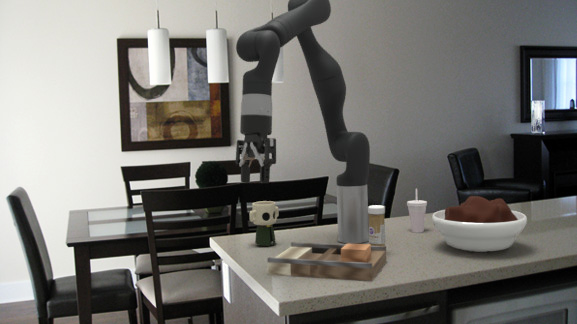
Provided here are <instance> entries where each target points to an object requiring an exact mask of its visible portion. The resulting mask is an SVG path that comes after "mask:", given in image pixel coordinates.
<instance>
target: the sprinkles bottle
mask: <svg viewBox="0 0 577 324" xmlns="http://www.w3.org/2000/svg"><path fill="white" fill-rule="evenodd" d="M368 213H369V214H368V215H369V241H368V244H371V246H386V224H385V213H386V206H385V205H380V204H378V205H376V204H375V205H374V204H372V205H369V206H368Z"/></svg>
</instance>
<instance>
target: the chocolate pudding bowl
mask: <svg viewBox="0 0 577 324" xmlns="http://www.w3.org/2000/svg"><path fill="white" fill-rule="evenodd" d="M431 221H432V223H433V225H434V227H435V228H436V230H438V232H439V233H441V235H442V237H443V240H444V242H445V243H446V244H447V245H448V246H450V247H452V248H454V249H458V250H462V251H467V250H468V252H472V251H475V252H474V253H488V252H487V251H490V252H498V251H504V250H506V249H509V248H511V247H513V244H514V243H515V241H516V238H517V237H518V235H519V234H520V233H521V232H522V231H523V230H524V229H525V227H526V225H527V223H528V216H526V214H524V213H522V212H519V211H516V210H511V208H510V206H509V205H508V204H507V203H506V201H504V199H503V198H495V199H492V200H489V199H487V198H485V197H483V196H478V195H477V196H476V195H471V196H468V198H466V200H465V202H462V203H460V204H459V205H457V206H448V207H446V208H445V209H441V210H438V211H436V212H433V214H432V216H431Z"/></svg>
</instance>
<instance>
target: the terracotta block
mask: <svg viewBox="0 0 577 324" xmlns="http://www.w3.org/2000/svg"><path fill="white" fill-rule="evenodd" d="M344 245H345V246H344V247H342V248H341V261H345V262H363V263H368V261H369V260H370V259H371V244H369V243H367V244H364V243H355V244H350V243H345V244H344Z"/></svg>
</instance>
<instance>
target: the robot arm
mask: <svg viewBox="0 0 577 324" xmlns="http://www.w3.org/2000/svg"><path fill="white" fill-rule="evenodd" d="M331 12H332V7H331V2H330V0H288V1H287V11H286V12H284V13H282V14H279V15H277V16H275V17H273V18H272V19H271V20H269V21H268V22H267V21H266V23H265V24H263V25H261V26H257V27H253V28H252V29H249V30H247V31H245V32H243V33H242V34H241V35H240V36H239V37H238V39H237V40H236V45H235V50H236V51H235V52H236V54H237V56H238V57H239V58H240V60H242V61H244V62H246V63H253V62H255V63H256V62H257V65H256V66H255V67H254V68H252V69H250V70H247V71H246V72H244V73H243V75H242V91H241V92H242V95H241V101H240V102H241V103H240V124H239V125H240V129H239V132H240V134H241V135H243V136H244V139H237V140H236V146H235V147H236V151H235V164H236V165H239V167H240V182H241V183H244V184H245V183H247V184H248V183H250V182H251V167H250V166H252V162H253V161H254V160H257V161H258V164H259V165H260V167H259V182H260V184H269V183H270V178H271V177H270V176H271V175H270V174H271V173H270V172H271V167H272V166H273V165H276V164H277V139H276V138H275V137H274V138H273V137H268V136H270V135H272V132H273V131H272V130H273V99H272V93H273V92H272V91H273V90H272V89H273V78H274V74H275V71H276V68H277V64H278V61H279V60H278V59H279V57H280V53H281V48H283V47H284V46H286V44H288V43H289V42H291V41H292V40H293V39H295V38H297V41H298V43H299V46H300V48H301V51H302V53H303V56H304V59H305V62H306V67H307V69H308V73H309V77H310V80H311V83H312V87H313V89H314V93H315V96H316V99H317V101H318V105H319V107H320V108H319V109H320V112H321V115H322V121H323V123H324V128H325V134H326V138H327V143H328V147H329V151H330V154H331V156H332V157H333V158H334V159H335V161H337V162H341V163H346V164H345V170H344V172H342V173H340V174H338V175H337V176H336V204H337V205H336V207H337V208H336V209H337V211H336V213H337V236H338V237H337V238H338V242H339V243H342V244H347V243H349V244H364V243H367V242H369V215H368V214H369V213H368V207H369V206H368V205H369V204H368V202H369V201H368V179H369V174H370V161H371V160H370V159H371V158H370V157H371V156H370V155H371V154H370V152H371V150H370V148H371V147H370V141H369V138H368V137H367V135H366V133H363V132H361V131H348V128H347V126H346V122H345V119H344V105H345V101H346V96H347V84H346V81H345V78H344V75H343V71H342V67H341V66H340V64H339V62H338V60H336V59H335V58H334V57H333V56H332V55H331V54H330V53H329V52H328V51H327V50H326V49H324V47H322V45H321V44H320V43H319V42H318V40H317V38H316V36H315V34H314V32H313V29H312V27H315V26H318V25H322V24H323V23H325V22H326V21H328V20H329V18H330V16H331Z"/></svg>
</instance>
